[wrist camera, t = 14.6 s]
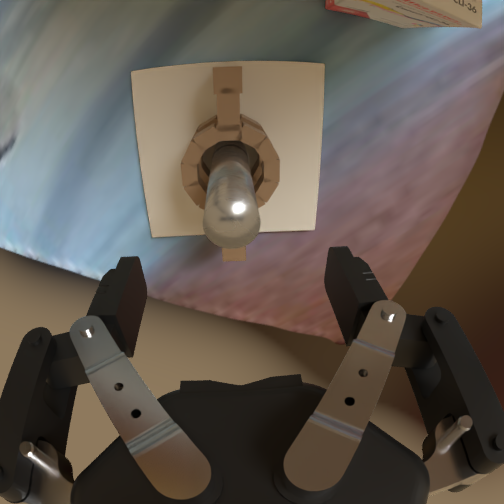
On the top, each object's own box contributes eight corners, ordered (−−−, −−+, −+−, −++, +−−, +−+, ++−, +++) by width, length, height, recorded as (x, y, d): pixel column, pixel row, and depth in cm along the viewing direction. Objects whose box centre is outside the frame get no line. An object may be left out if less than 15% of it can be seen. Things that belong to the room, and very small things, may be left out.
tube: (214, 169, 29) (204, 250, 17) (212, 137, 27) (199, 198, 16) (246, 167, 29) (260, 248, 18) (246, 136, 28) (261, 196, 16)
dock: (153, 233, 33) (140, 269, 28) (133, 71, 24) (108, 74, 19) (312, 226, 34) (329, 260, 29) (322, 63, 25) (346, 64, 19)
